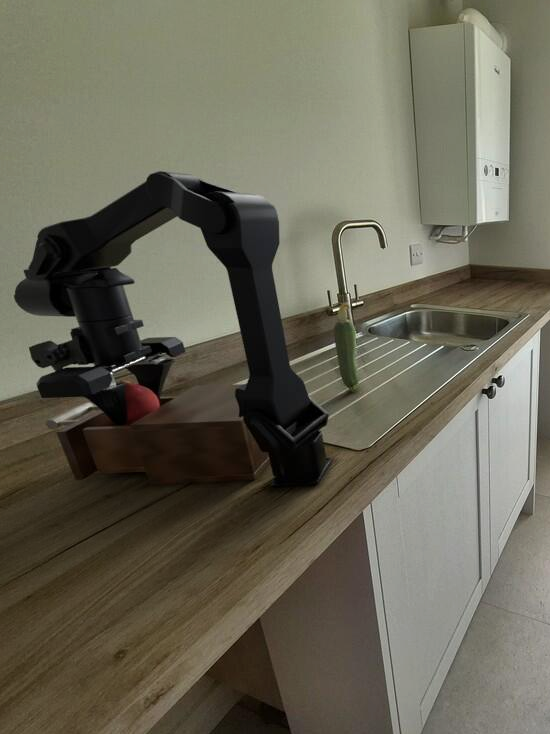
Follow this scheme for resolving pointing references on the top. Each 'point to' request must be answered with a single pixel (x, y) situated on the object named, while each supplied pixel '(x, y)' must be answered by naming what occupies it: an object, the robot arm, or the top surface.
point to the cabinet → (198, 439)
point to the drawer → (97, 442)
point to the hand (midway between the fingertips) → (138, 415)
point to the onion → (139, 401)
